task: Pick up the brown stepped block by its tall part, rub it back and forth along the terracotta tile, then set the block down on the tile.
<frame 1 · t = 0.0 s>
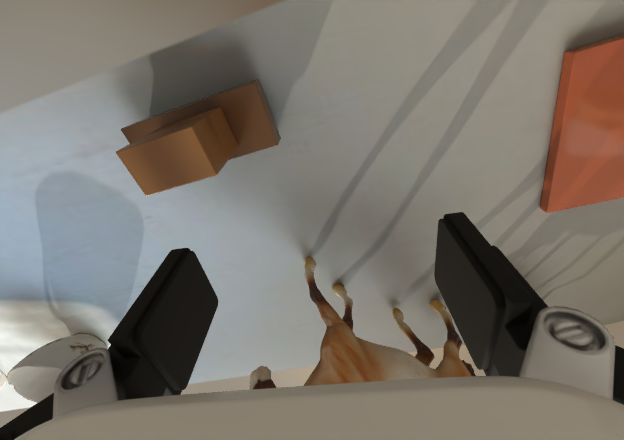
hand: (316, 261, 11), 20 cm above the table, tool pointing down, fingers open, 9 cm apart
tile: (607, 127, 27), on the table
teacup: (84, 343, 49), on the table
horse figurine: (366, 303, 42), on the table
brown stepped block: (212, 126, 28), on the table
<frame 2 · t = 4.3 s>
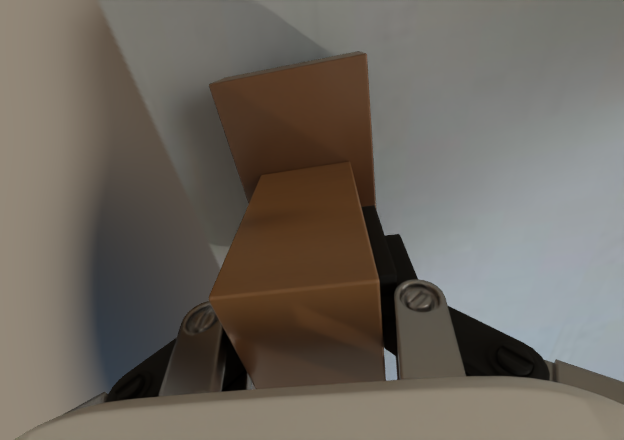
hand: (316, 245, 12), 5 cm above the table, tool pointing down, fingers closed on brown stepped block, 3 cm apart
brown stepped block: (317, 193, 16), on the table, touching gripper
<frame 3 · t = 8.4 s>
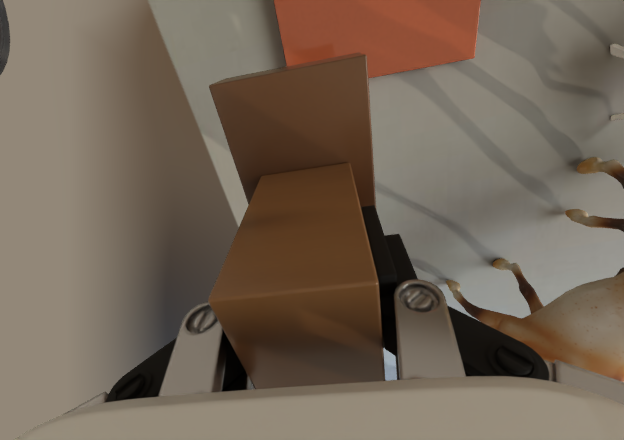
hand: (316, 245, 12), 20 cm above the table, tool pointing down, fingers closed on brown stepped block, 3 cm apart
tile: (374, 8, 23), on the table
horse figurine: (540, 238, 35), on the table
brown stepped block: (317, 194, 16), point 15 cm above the table, touching gripper
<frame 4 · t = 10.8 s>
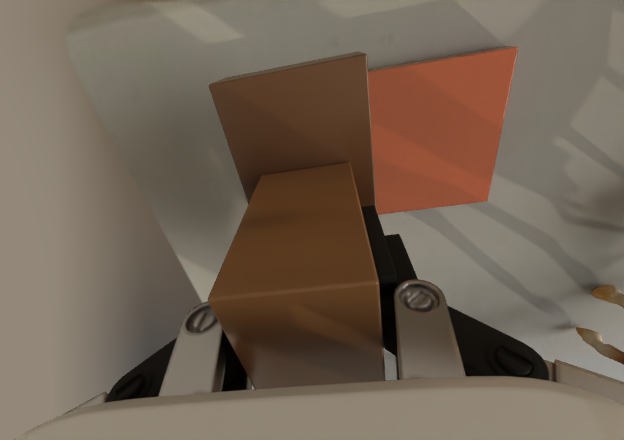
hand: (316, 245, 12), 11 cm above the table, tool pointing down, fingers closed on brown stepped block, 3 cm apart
tile: (374, 147, 20), on the table
horse figurine: (548, 347, 33), on the table
brown stepped block: (317, 194, 16), point 6 cm above the table, touching gripper
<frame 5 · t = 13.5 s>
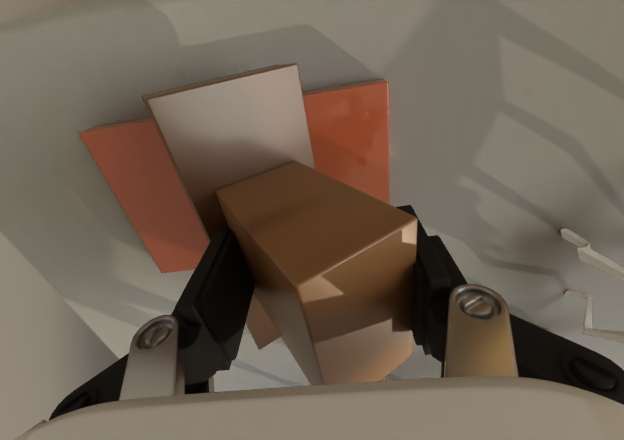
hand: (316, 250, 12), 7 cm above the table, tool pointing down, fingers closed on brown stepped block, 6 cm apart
tile: (255, 187, 18), on the table
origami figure: (600, 247, 20), on the table
brown stepped block: (248, 207, 16), point 2 cm above the table, tilted 32°, touching gripper, tile
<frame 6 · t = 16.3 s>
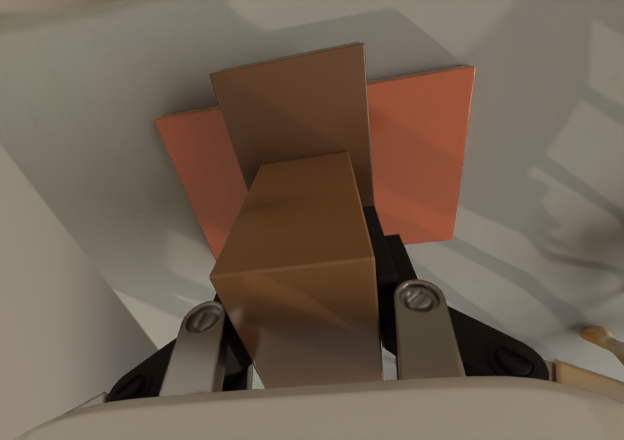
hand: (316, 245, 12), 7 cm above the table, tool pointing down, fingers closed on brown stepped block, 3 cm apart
tile: (319, 177, 17), on the table
horse figurine: (534, 386, 30), on the table
brown stepped block: (316, 185, 16), point 2 cm above the table, touching gripper
when the fingers open (6 cm above the table, at t = 16.8 s): brown stepped block stays where it is, resting on tile.
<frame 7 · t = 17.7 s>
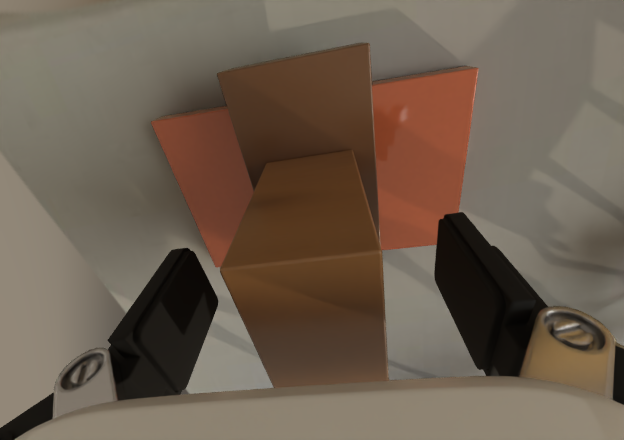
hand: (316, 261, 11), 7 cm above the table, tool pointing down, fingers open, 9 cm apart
tile: (319, 180, 17), on the table
brown stepped block: (320, 184, 16), point 1 cm above the table, touching tile
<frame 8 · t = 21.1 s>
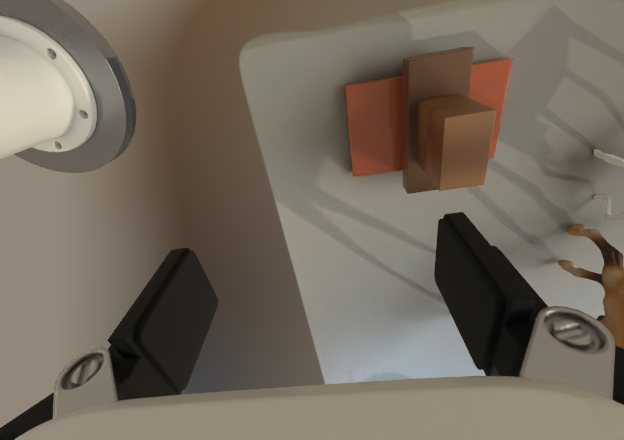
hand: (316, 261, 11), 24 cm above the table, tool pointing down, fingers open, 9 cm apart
tile: (420, 121, 31), on the table
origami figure: (617, 163, 34), on the table
horse figurine: (538, 279, 44), on the table
brown stepped block: (425, 121, 30), point 1 cm above the table, touching tile
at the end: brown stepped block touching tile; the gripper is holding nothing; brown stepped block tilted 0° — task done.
